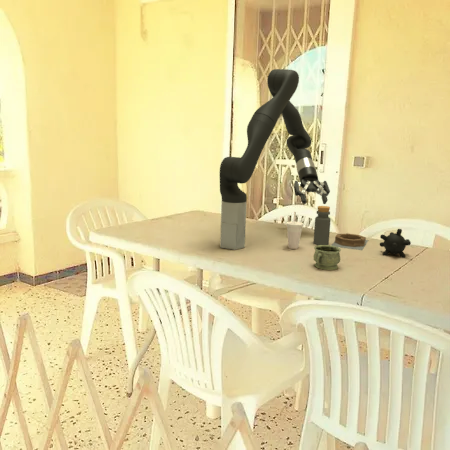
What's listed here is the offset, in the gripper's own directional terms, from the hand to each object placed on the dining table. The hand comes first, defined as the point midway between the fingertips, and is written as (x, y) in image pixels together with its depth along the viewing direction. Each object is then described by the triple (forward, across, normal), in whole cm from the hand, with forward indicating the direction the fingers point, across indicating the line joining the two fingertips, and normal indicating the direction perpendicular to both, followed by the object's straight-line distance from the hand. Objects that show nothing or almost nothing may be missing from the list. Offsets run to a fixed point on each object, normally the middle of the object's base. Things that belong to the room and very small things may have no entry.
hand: (315, 203), depth 189 cm
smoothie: (+20, -13, +2) cm, 24 cm away
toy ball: (+29, +20, -8) cm, 37 cm away
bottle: (+17, 0, +5) cm, 17 cm away
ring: (+16, +12, +4) cm, 21 cm away
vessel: (+36, -10, -14) cm, 40 cm away
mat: (+16, +12, +5) cm, 21 cm away
